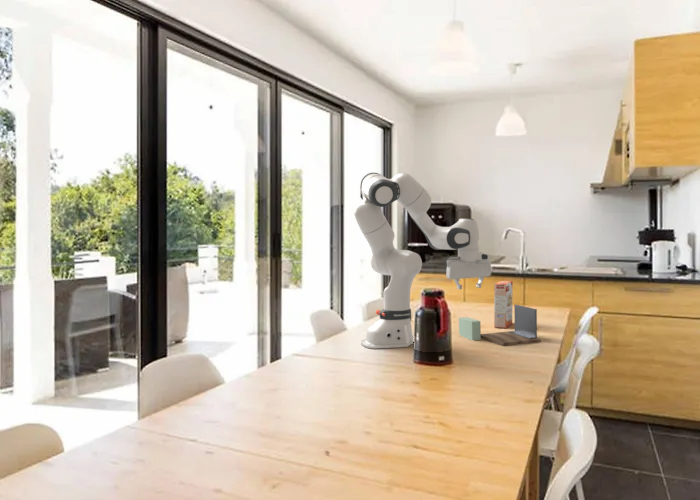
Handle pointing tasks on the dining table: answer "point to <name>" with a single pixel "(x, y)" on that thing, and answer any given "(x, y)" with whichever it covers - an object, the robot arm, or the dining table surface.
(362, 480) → the dining table surface
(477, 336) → the pale green block
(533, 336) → the bookend
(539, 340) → the shelf board
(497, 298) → the cracker box
